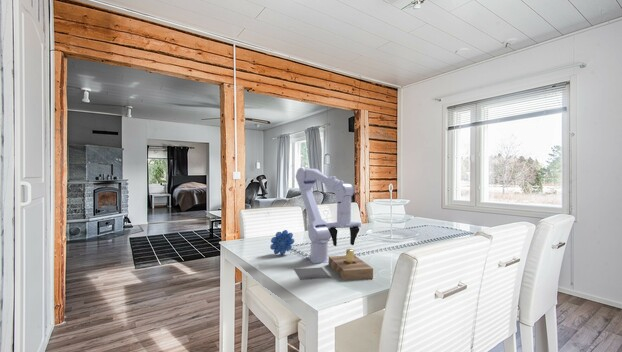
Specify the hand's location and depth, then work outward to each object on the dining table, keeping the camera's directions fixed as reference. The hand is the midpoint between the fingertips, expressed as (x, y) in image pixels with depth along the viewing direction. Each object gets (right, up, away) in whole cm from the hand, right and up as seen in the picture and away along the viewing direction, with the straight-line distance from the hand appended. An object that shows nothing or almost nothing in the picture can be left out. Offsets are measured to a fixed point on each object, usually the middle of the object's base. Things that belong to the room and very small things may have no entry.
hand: (343, 245), depth 120 cm
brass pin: (+2, -11, -2) cm, 11 cm away
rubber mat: (-13, -10, -6) cm, 18 cm away
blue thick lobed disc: (-28, -10, +21) cm, 36 cm away
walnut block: (+2, -11, -2) cm, 11 cm away
